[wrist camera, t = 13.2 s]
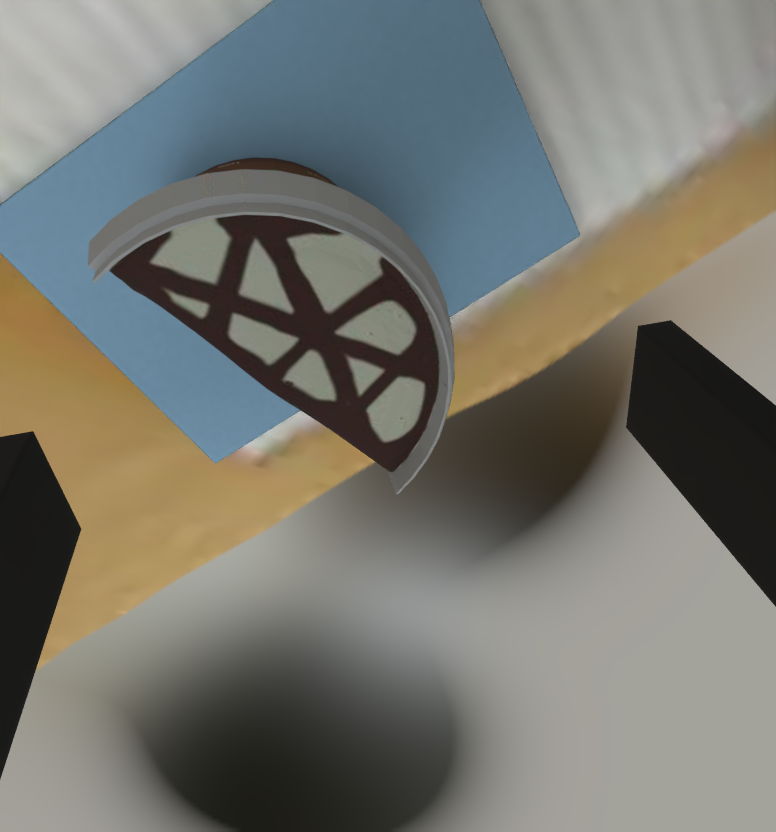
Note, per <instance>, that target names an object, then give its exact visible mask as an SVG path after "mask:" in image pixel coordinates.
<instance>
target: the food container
mask: <svg viewBox="0 0 776 832" xmlns="http://www.w3.org/2000/svg"><path fill="white" fill-rule="evenodd" d="M88 266H89V267H90V268H92V269H93V270H95V271H96V272H95V275H94V278H93V280H92V282H94V283H96V282H97V281H98V280H99V279H100V278H101V277H102V276H103V275H104V274H105V273H106V272H107V271H108V270H109V269H110V270H109V271H110V272H111V273H112V274H114V275H115V276H116V277H117V278H119V279H120V280H122V281H123V282H124V283H126V284H127V285H128V286H129V287H130V288H131V289H132V290H134V291H136V292H138V293H140V294H141V295H143V296H145V297H147V298H148V299H150V300H151V301H153V302H154V303H156V304H157V305H159V306H160V307H162V308H163V309H164V310H166V311H167V312H168V313H170V314H171V315H172V316H174V317H175V318H177V319H178V320H179V321H181V322H182V323H183V324H185V325H186V326H187V327H189V328H190V329H191V330H193V331H194V332H196V333H197V334H198V335H199V336H201V337H202V338H203V339H205V340H206V341H207V342H209V343H210V344H211V345H212V346H214V347H215V348H216V349H218V350H219V351H220V352H222V353H223V354H224V355H225V356H226V357H228V358H229V359H230V360H231V361H233V362H234V363H235V364H236V365H237V366H239V367H240V368H241V369H242V370H244V371H245V372H246V373H247V374H249V375H250V376H251V377H252V378H254V379H255V380H256V381H258V382H259V383H260V384H261V385H263V386H264V387H265V388H266V389H268V390H269V391H270V392H272V393H274V394H275V395H277V396H278V397H280V398H281V399H283V400H285V401H286V402H288V403H289V404H291V405H292V406H294V407H296V408H297V409H299V410H301V411H302V412H304V413H306V414H307V415H309V416H310V417H312V418H314V419H315V420H317V421H318V422H320V423H321V424H323V425H324V426H326V427H327V428H329V429H331V430H332V431H333V432H335V433H336V434H338V435H339V436H340V437H342V438H343V439H345V440H346V441H347V442H349V443H350V444H352V445H353V446H354V447H356V448H357V449H359V450H360V451H361V452H363V453H364V454H366V455H367V456H368V457H370V458H371V459H373V460H374V461H375V462H377V463H378V464H380V465H381V466H382V467H384V468H385V469H387V472H388V474H389V477H390V480H391V481H392V485H393V487H394V490H395V492H396V494H398V493H400V492H401V490H403V488H404V487H405V486H406V485H407V484H408V483H409V482H410V481H411V480H412V479H413V478H414V477H415V475H416V474H417V473H418V471H419V470H420V469H421V467H422V466H423V465H424V463H425V462H426V461H427V459H428V457H429V456H430V454H431V452H432V450H433V448H434V446H435V444H436V442H437V441H438V439H439V437H440V434H441V430H442V427H443V425H444V422H445V419H446V416H447V412H448V409H449V406H450V402H451V396H452V390H453V384H454V346H453V337H452V329H451V323H450V318H449V313H448V308H447V303H446V300H445V298H444V295H443V292H442V290H441V287H440V284H439V282H438V279H437V277H436V275H435V273H434V272H433V270H432V268H431V267H430V265H429V263H428V262H427V260H426V258H425V257H424V255H423V253H422V252H421V250H420V249H419V248H418V247H417V246H416V245H415V243H414V242H413V241H412V240H411V239H410V238H409V236H408V235H407V234H406V233H405V232H404V231H403V229H402V228H401V227H399V226H398V225H397V224H396V223H395V222H393V221H392V220H391V219H390V218H389V217H387V216H386V215H385V214H384V213H382V212H381V211H380V210H379V209H378V208H376V207H375V206H373V205H371V204H370V203H368V202H366V201H364V200H363V199H361V198H359V197H357V196H356V195H354V194H352V193H351V192H349V191H347V190H344V189H342V188H339V187H338V186H337V185H336V184H335V183H333V182H332V181H331V180H330V179H328V178H327V177H325V176H323V175H322V174H320V173H318V172H316V171H315V170H313V169H311V168H308V167H306V166H303V165H300V164H297V163H295V162H291V161H286V160H281V159H276V158H255V157H254V158H246V159H239V160H233V161H229V162H226V163H223V164H220V165H216V166H214V167H212V168H210V169H208V170H206V171H204V172H202V173H200V174H198V175H196V176H195V177H192V178H189V179H186V180H182V181H179V182H175V183H172V184H169V185H167V186H165V187H163V188H161V189H159V190H157V191H155V192H153V193H151V194H149V195H147V196H145V197H143V198H140V199H138V200H137V201H136V202H134V203H133V204H132V205H130V206H129V207H127V208H126V209H125V210H123V211H122V212H120V213H119V214H118V215H116V216H115V217H114V218H112V219H111V220H110V221H109V222H108V223H107V224H106V225H105V226H104V227H103V228H102V229H101V230H100V231H99V232H98V233H97V234H96V235H95V236H94V237H93V238H92V239H91V240H90V241H89V253H88Z"/></svg>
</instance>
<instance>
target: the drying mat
mask: <svg viewBox="0 0 776 832" xmlns="http://www.w3.org/2000/svg"><path fill="white" fill-rule="evenodd" d="M254 157H255V158H276V159H281V160H286V161H291V162H295V163H297V164H300V165H303V166H306V167H308V168H311V169H313V170H315V171H316V172H318V173H320V174H322V175H323V176H325V177H327V178H328V179H330V180H331V181H332V182H333V183H335V184H336V185H337V186H338V187H339V188H342V189H344V190H347V191H349V192H351V193H352V194H354V195H356V196H357V197H359V198H361V199H363V200H364V201H366V202H368V203H370V204H371V205H373V206H375V207H376V208H378V209H379V210H380V211H381V212H382V213H384V214H385V215H386V216H387V217H389V218H390V219H391V220H392V221H393V222H395V223H396V224H397V225H398V226H399V227H401V228H402V229H403V231H404V232H405V233H406V234H407V235H408V236H409V238H410V239H411V240H412V241H413V242H414V243H415V245H416V246H417V247H418V248H419V249H420V250H421V252H422V253H423V255H424V257H425V258H426V260H427V262H428V263H429V265H430V267H431V268H432V270H433V272H434V273H435V275H436V277H437V279H438V282H439V284H440V287H441V290H442V292H443V295H444V298H445V300H446V303H447V308H448V313H449V317H451V316H452V315H454V314H455V313H457V312H459V311H460V310H462V309H463V308H465V307H467V306H468V305H470V304H471V303H473V302H475V301H476V300H478V299H479V298H481V297H483V296H484V295H486V294H487V293H489V292H491V291H492V290H494V289H495V288H497V287H499V286H500V285H502V284H503V283H505V282H507V281H508V280H510V279H511V278H513V277H515V276H516V275H518V274H519V273H521V272H523V271H524V270H526V269H527V268H529V267H531V266H532V265H534V264H535V263H537V262H539V261H540V260H542V259H543V258H545V257H547V256H548V255H550V254H551V253H553V252H555V251H556V250H558V249H559V248H561V247H563V246H564V245H566V244H567V243H569V242H571V241H572V240H574V239H575V238H577V237H579V236H580V233H579V231H578V228H577V226H576V224H575V221H574V219H573V217H572V214H571V212H570V210H569V207H568V205H567V203H566V200H565V198H564V196H563V193H562V191H561V189H560V186H559V184H558V182H557V179H556V177H555V175H554V172H553V170H552V168H551V165H550V163H549V161H548V158H547V156H546V154H545V151H544V149H543V147H542V145H541V142H540V140H539V138H538V135H537V133H536V131H535V128H534V126H533V124H532V121H531V119H530V117H529V114H528V112H527V110H526V107H525V105H524V103H523V100H522V98H521V96H520V93H519V91H518V89H517V86H516V84H515V82H514V79H513V77H512V75H511V72H510V70H509V68H508V65H507V63H506V61H505V58H504V56H503V54H502V51H501V49H500V47H499V44H498V42H497V40H496V37H495V35H494V33H493V30H492V28H491V26H490V23H489V21H488V19H487V16H486V14H485V12H484V9H483V7H482V5H481V2H480V0H274V1H273V2H271V3H270V4H269V5H267V6H266V7H265V8H263V9H262V10H261V11H259V12H258V13H256V14H255V15H254V16H252V17H251V18H250V19H248V20H247V21H246V22H244V23H243V24H242V25H240V26H239V27H238V28H236V29H235V30H234V31H232V32H231V33H230V34H228V35H227V36H226V37H224V38H223V39H222V40H220V41H219V42H218V43H216V44H215V45H214V46H212V47H211V48H210V49H208V50H207V51H206V52H204V53H203V54H202V55H200V56H199V57H198V58H196V59H195V60H193V61H192V62H191V63H189V64H188V65H187V66H185V67H184V68H183V69H181V70H180V71H179V72H177V73H176V74H175V75H173V76H172V77H171V78H169V79H168V80H167V81H165V82H164V83H163V84H161V85H160V86H159V87H157V88H156V89H155V90H153V91H152V92H151V93H149V94H148V95H147V96H145V97H144V98H143V99H141V100H140V101H139V102H137V103H136V104H135V105H133V106H132V107H130V108H129V109H128V110H126V111H125V112H124V113H122V114H121V115H120V116H118V117H117V118H116V119H114V120H113V121H112V122H110V123H109V124H108V125H106V126H105V127H104V128H102V129H101V130H100V131H98V132H97V133H96V134H94V135H93V136H92V137H90V138H89V139H88V140H86V141H85V142H84V143H82V144H81V145H80V146H78V147H77V148H76V149H74V150H73V151H72V152H70V153H69V154H67V155H66V156H65V157H63V158H62V159H61V160H59V161H58V162H57V163H55V164H54V165H53V166H51V167H50V168H49V169H47V170H46V171H45V172H43V173H42V174H41V175H39V176H38V177H37V178H35V179H34V180H33V181H31V182H30V183H29V184H27V185H26V186H25V187H23V188H22V189H21V190H19V191H18V192H17V193H15V194H14V195H13V196H11V197H10V198H9V199H7V200H6V201H4V202H3V203H2V204H0V253H1V254H2V255H3V256H4V257H5V258H6V259H7V260H8V261H9V262H10V263H11V264H12V265H13V266H14V267H15V268H16V269H17V270H18V271H19V272H20V273H21V274H22V275H23V276H24V277H25V278H26V279H27V280H29V281H30V282H31V283H32V284H33V285H34V286H35V287H36V288H37V289H38V290H39V291H40V292H41V293H42V294H43V295H44V296H45V297H46V298H47V299H48V300H49V301H50V302H51V303H52V304H53V305H54V306H55V307H56V308H57V309H58V310H59V311H60V312H61V313H62V314H63V315H64V316H65V317H66V318H67V319H68V320H69V321H70V322H71V323H72V324H73V325H74V326H75V327H76V328H78V329H79V330H80V331H81V332H82V333H83V334H84V335H85V336H86V337H87V338H88V339H89V340H90V341H91V342H92V343H93V344H94V345H95V346H96V347H97V348H98V349H99V350H100V351H101V352H102V353H103V354H104V355H105V356H106V357H107V358H108V359H109V360H110V361H111V362H112V363H113V364H114V365H115V366H116V367H117V368H118V369H119V370H120V371H121V372H122V373H123V374H124V375H126V376H127V377H128V378H129V379H130V380H131V381H132V382H133V383H134V384H135V385H136V386H137V387H138V388H139V389H140V390H141V391H142V392H143V393H144V394H145V395H146V396H147V397H148V398H149V399H150V400H151V401H152V402H153V403H154V404H155V405H156V406H157V407H158V408H159V409H160V410H161V411H162V412H163V413H164V414H165V415H166V416H167V417H168V418H169V419H170V420H171V421H172V422H174V423H175V424H176V425H177V426H178V427H179V428H180V429H181V430H182V431H183V432H184V433H185V434H186V435H187V436H188V437H189V438H190V439H191V440H192V441H193V442H194V443H195V444H196V445H197V446H198V447H199V448H200V449H201V450H202V451H203V452H204V453H205V454H206V455H207V456H208V457H209V458H210V459H211V460H212V461H213V462H214V463H217V462H219V461H220V460H222V459H223V458H225V457H227V456H228V455H230V454H231V453H233V452H235V451H236V450H238V449H239V448H241V447H243V446H244V445H246V444H247V443H249V442H251V441H252V440H254V439H255V438H257V437H259V436H260V435H262V434H263V433H265V432H267V431H268V430H270V429H271V428H273V427H275V426H276V425H278V424H279V423H281V422H283V421H284V420H286V419H287V418H289V417H291V416H292V415H294V414H295V413H297V412H299V411H300V410H299V409H297V408H296V407H294V406H292V405H291V404H289V403H288V402H286V401H285V400H283V399H281V398H280V397H278V396H277V395H275V394H274V393H272V392H270V391H269V390H268V389H266V388H265V387H264V386H263V385H261V384H260V383H259V382H258V381H256V380H255V379H254V378H252V377H251V376H250V375H249V374H247V373H246V372H245V371H244V370H242V369H241V368H240V367H239V366H237V365H236V364H235V363H234V362H233V361H231V360H230V359H229V358H228V357H226V356H225V355H224V354H223V353H222V352H220V351H219V350H218V349H216V348H215V347H214V346H212V345H211V344H210V343H209V342H207V341H206V340H205V339H203V338H202V337H201V336H199V335H198V334H197V333H196V332H194V331H193V330H191V329H190V328H189V327H187V326H186V325H185V324H183V323H182V322H181V321H179V320H178V319H177V318H175V317H174V316H172V315H171V314H170V313H168V312H167V311H166V310H164V309H163V308H162V307H160V306H159V305H157V304H156V303H154V302H153V301H151V300H150V299H148V298H147V297H145V296H143V295H141V294H140V293H138V292H136V291H134V290H132V289H131V288H130V287H129V286H128V285H127V284H126V283H124V282H123V281H122V280H120V279H119V278H117V277H116V276H115V275H114V274H112V273H111V272H110V271H109V270H110V269H109V270H108V271H107V272H106V273H105V274H104V275H103V276H102V277H101V278H100V279H99V280H98V281H97V282H96V283H94V282H92V280H93V278H94V275H95V272H96V271H95V270H93V269H92V268H90V267H89V266H88V253H89V241H90V240H91V239H92V238H93V237H94V236H95V235H96V234H97V233H98V232H99V231H100V230H101V229H102V228H103V227H104V226H105V225H106V224H107V223H108V222H109V221H110V220H111V219H112V218H114V217H115V216H116V215H118V214H119V213H120V212H122V211H123V210H125V209H126V208H127V207H129V206H130V205H132V204H133V203H134V202H136V201H137V200H138V199H140V198H143V197H145V196H147V195H149V194H151V193H153V192H155V191H157V190H159V189H161V188H163V187H165V186H167V185H169V184H172V183H175V182H179V181H182V180H186V179H189V178H192V177H195V176H196V175H198V174H200V173H202V172H204V171H206V170H208V169H210V168H212V167H214V166H216V165H220V164H223V163H226V162H229V161H233V160H239V159H246V158H254Z"/></svg>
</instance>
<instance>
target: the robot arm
mask: <svg viewBox="0 0 776 832" xmlns="http://www.w3.org/2000/svg"><path fill="white" fill-rule="evenodd" d="M626 428H627V429H628V430H629V431H630V432H631V433H632V435H633V436H634V437H635V438H636V440H637V441H638V442H639V443H640V444H641V446H642V447H643V448H644V449H645V450H646V452H647V453H648V454H649V455H650V456H651V458H652V459H653V460H654V461H655V462H656V464H657V465H658V466H659V467H660V468H661V470H662V471H663V472H664V473H665V474H666V476H667V477H668V478H669V479H670V480H671V482H672V483H673V484H674V485H675V486H676V488H677V489H678V490H679V491H680V492H681V494H682V495H683V496H684V497H685V498H686V499H687V501H688V502H689V503H690V504H691V506H692V507H693V508H694V509H695V510H696V512H697V513H698V514H699V515H700V516H701V518H702V519H703V520H704V521H705V522H706V523H707V525H708V526H709V527H710V528H711V529H712V531H713V532H714V533H715V534H716V536H717V537H718V538H719V539H720V540H721V542H722V543H723V544H724V545H725V546H726V548H727V549H728V550H729V551H730V552H731V554H732V555H733V556H734V557H735V558H736V560H737V561H738V562H739V563H740V564H741V566H742V567H743V568H744V569H745V570H746V571H747V573H748V574H749V575H750V576H751V578H752V579H753V580H754V581H755V582H756V584H757V585H758V586H759V587H760V588H761V590H762V591H763V592H764V593H765V594H766V596H767V597H768V598H769V599H770V600H771V602H772V603H773V604H774V605H775V606H776V405H774V404H773V403H772V402H771V401H769V400H768V399H767V398H766V397H765V396H763V395H762V394H761V393H760V392H758V391H757V390H756V389H755V388H753V387H752V386H751V385H750V384H749V383H747V382H746V381H745V380H744V379H742V378H741V377H740V376H739V375H737V374H736V373H735V372H734V371H733V370H731V369H730V368H729V367H728V366H726V365H725V364H724V363H723V362H721V361H720V360H719V359H718V358H716V357H715V356H714V355H713V354H712V353H710V352H709V351H708V350H707V349H705V348H704V347H703V346H702V345H700V344H699V343H698V342H697V341H696V340H694V339H693V338H692V337H691V336H689V335H688V334H687V333H686V332H684V331H683V330H682V329H681V328H680V327H678V326H677V325H676V324H675V323H673V322H672V321H671V320H670V321H665V322H659V323H653V324H647V325H641V326H638V331H637V340H636V349H635V357H634V365H633V375H632V382H631V391H630V400H629V408H628V417H627V426H626ZM80 531H81V528H80V525H79V523H78V521H77V519H76V517H75V515H74V513H73V511H72V509H71V507H70V505H69V503H68V501H67V499H66V497H65V495H64V493H63V491H62V489H61V487H60V485H59V483H58V481H57V479H56V477H55V475H54V473H53V471H52V469H51V467H50V465H49V463H48V461H47V459H46V456H45V454H44V452H43V450H42V448H41V446H40V444H39V442H38V440H37V438H36V436H35V434H34V432H33V431H32V432H27V433H21V434H15V435H9V436H4V437H0V778H1V775H2V772H3V769H4V766H5V763H6V760H7V757H8V754H9V751H10V748H11V744H12V741H13V738H14V735H15V732H16V729H17V726H18V723H19V719H20V716H21V714H22V710H23V707H24V704H25V701H26V698H27V695H28V692H29V689H30V686H31V683H32V679H33V676H34V673H35V670H36V667H37V664H38V661H39V658H40V655H41V652H42V649H43V646H44V642H45V639H46V636H47V633H48V630H49V627H50V624H51V621H52V618H53V615H54V612H55V608H56V605H57V602H58V599H59V596H60V593H61V590H62V587H63V584H64V581H65V577H66V574H67V571H68V568H69V565H70V562H71V559H72V556H73V553H74V550H75V547H76V543H77V540H78V537H79V534H80Z"/></svg>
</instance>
